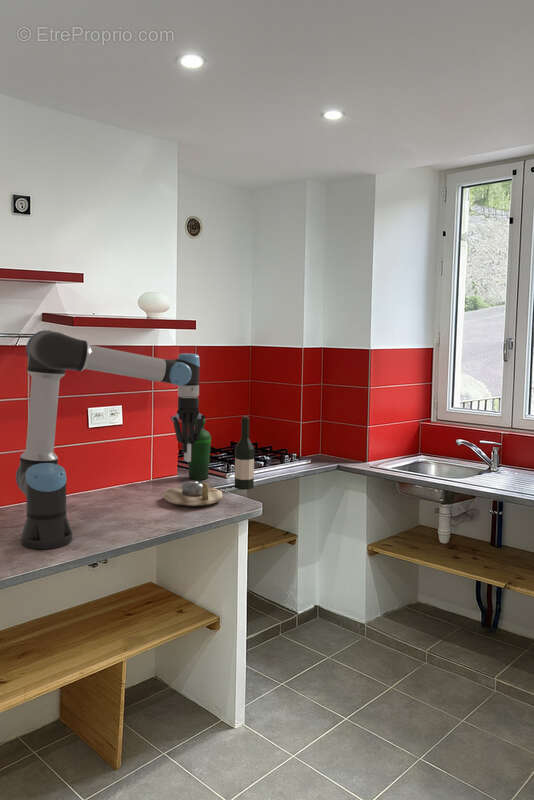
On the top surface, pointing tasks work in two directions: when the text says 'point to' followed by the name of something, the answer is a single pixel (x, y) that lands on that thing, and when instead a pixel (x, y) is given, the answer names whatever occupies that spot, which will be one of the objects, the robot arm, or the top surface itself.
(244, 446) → the wine bottle
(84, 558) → the top surface
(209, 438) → the bottle
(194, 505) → the turntable base
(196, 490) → the cover
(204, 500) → the turntable
